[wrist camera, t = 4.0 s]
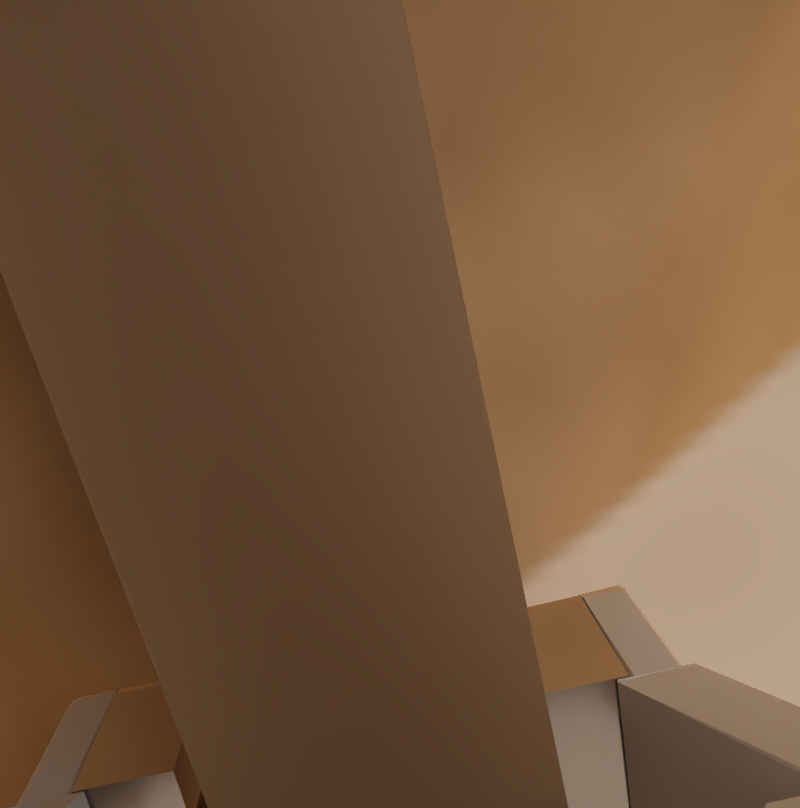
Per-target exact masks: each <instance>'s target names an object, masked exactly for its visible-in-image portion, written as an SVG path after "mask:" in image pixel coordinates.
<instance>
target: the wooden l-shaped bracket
mask: <svg viewBox="0 0 800 808" xmlns="http://www.w3.org/2000/svg"><path fill="white" fill-rule="evenodd" d="M0 273H1V275H2V278H3V281H4V283H5V286H6V288H7V291H8V293H9V296H10V299H11V301H12V304H13V306H14V309H15V311H16V314H17V317H18V319H19V322H20V324H21V327H22V330H23V332H24V335H25V337H26V340H27V342H28V345H29V348H30V350H31V353H32V355H33V358H34V360H35V363H36V366H37V368H38V371H39V373H40V376H41V378H42V381H43V384H44V386H45V389H46V391H47V394H48V397H49V399H50V402H51V404H52V407H53V409H54V412H55V415H56V417H57V420H58V422H59V425H60V427H61V430H62V433H63V435H64V438H65V440H66V443H67V446H68V448H69V451H70V453H71V456H72V458H73V461H74V464H75V466H76V469H77V471H78V474H79V476H80V479H81V482H82V484H83V487H84V489H85V492H86V495H87V497H88V500H89V502H90V505H91V507H92V510H93V513H94V515H95V518H96V520H97V523H98V525H99V528H100V531H101V533H102V536H103V538H104V541H105V543H106V546H107V549H108V551H109V554H110V556H111V559H112V562H113V564H114V567H115V569H116V572H117V574H118V577H119V580H120V582H121V585H122V587H123V590H124V592H125V595H126V598H127V600H128V603H129V605H130V608H131V611H132V613H133V616H134V618H135V621H136V623H137V626H138V629H139V631H140V634H141V636H142V639H143V641H144V644H145V647H146V649H147V652H148V654H149V657H150V660H151V662H152V665H153V667H154V670H155V672H156V675H157V678H158V680H159V683H160V685H161V688H162V690H163V693H164V696H165V698H166V701H167V703H168V706H169V708H170V711H171V714H172V716H173V719H174V721H175V724H176V727H177V729H178V732H179V734H180V737H181V739H182V742H183V745H184V747H185V750H186V752H187V755H188V757H189V760H190V763H191V765H192V768H193V770H194V773H195V776H196V778H197V781H198V783H199V786H200V788H201V791H202V794H203V796H204V799H205V801H206V804H207V806H208V808H568V803H567V798H566V793H565V788H564V783H563V779H562V774H561V769H560V764H559V759H558V754H557V750H556V745H555V740H554V735H553V730H552V726H551V721H550V716H549V711H548V706H547V701H546V697H545V692H544V687H543V682H542V677H541V672H540V668H539V663H538V658H537V653H536V648H535V644H534V639H533V634H532V629H531V624H530V619H529V615H528V610H527V605H526V600H525V595H524V590H523V586H522V581H521V576H520V571H519V566H518V561H517V557H516V552H515V547H514V542H513V537H512V533H511V528H510V523H509V518H508V513H507V508H506V504H505V499H504V494H503V489H502V484H501V479H500V475H499V470H498V465H497V460H496V455H495V451H494V446H493V441H492V436H491V431H490V426H489V422H488V417H487V412H486V407H485V402H484V397H483V393H482V388H481V383H480V378H479V373H478V368H477V364H476V359H475V354H474V349H473V344H472V340H471V335H470V330H469V325H468V320H467V315H466V311H465V306H464V301H463V296H462V291H461V286H460V282H459V277H458V272H457V267H456V262H455V257H454V253H453V248H452V243H451V238H450V233H449V229H448V224H447V219H446V214H445V209H444V204H443V200H442V195H441V190H440V185H439V180H438V175H437V171H436V166H435V161H434V156H433V151H432V147H431V142H430V137H429V132H428V127H427V122H426V118H425V113H424V108H423V103H422V98H421V93H420V89H419V84H418V79H417V74H416V69H415V64H414V60H413V55H412V50H411V45H410V40H409V36H408V31H407V26H406V21H405V16H404V11H403V7H402V2H401V0H0Z"/></svg>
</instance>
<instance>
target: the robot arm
mask: <svg viewBox="0 0 800 808" xmlns="http://www.w3.org/2000/svg"><path fill="white" fill-rule="evenodd" d="M527 610H528V615H529V619H530V624H531V629H532V634H533V639H534V644H535V648H536V653H537V658H538V663H539V668H540V672H541V677H542V682H543V687H544V692H545V697H546V701H547V706H548V711H549V716H550V721H551V726H552V730H553V735H554V740H555V745H556V750H557V754H558V759H559V764H560V769H561V774H562V779H563V783H564V788H565V793H566V798H567V803H568V808H800V707H798V706H795V705H793V704H791V703H788V702H786V701H784V700H781V699H779V698H776V697H774V696H772V695H769V694H766V693H764V692H762V691H759V690H757V689H755V688H752V687H750V686H747V685H745V684H743V683H740V682H738V681H735V680H733V679H731V678H728V677H726V676H723V675H721V674H718V673H716V672H714V671H711V670H709V669H706V668H704V667H702V666H699V665H697V664H691V665H686V666H682V665H681V664H680V663H679V661H678V660H677V659H676V657H675V656H674V654H673V653H672V652H671V651H670V649H669V648H668V646H667V645H666V644H665V642H664V641H663V640H662V638H661V637H660V636H659V634H658V633H657V632H656V630H655V629H654V627H653V626H652V625H651V623H650V622H649V621H648V619H647V618H646V617H645V615H644V614H643V613H642V611H641V610H640V609H639V607H638V606H637V604H636V603H635V602H634V600H633V599H632V598H631V597H630V595H629V594H628V592H627V591H626V590H625V588H622V587H620V586H614V587H610V588H606V589H603V590H599V591H594V592H590V593H586V594H582V595H578V596H575V597H571V598H567V599H563V600H558V601H554V602H550V603H545V604H540V605H536V606H532V607H528V608H527ZM6 808H208V806H207V804H206V801H205V799H204V796H203V794H202V791H201V788H200V786H199V783H198V781H197V778H196V776H195V773H194V770H193V768H192V765H191V763H190V760H189V757H188V755H187V752H186V750H185V747H184V745H183V742H182V739H181V737H180V734H179V732H178V729H177V727H176V724H175V721H174V719H173V716H172V714H171V711H170V708H169V706H168V703H167V701H166V698H165V696H164V693H163V690H162V688H161V685H160V683H159V682H153V683H148V684H142V685H137V686H131V687H126V688H122V689H121V690H120V689H114V690H109V691H105V692H100V693H95V694H91V695H86V696H81V697H79V698H77V699H75V700H74V701H72V702H71V703H70V704H69V706H68V708H67V710H66V712H65V714H64V716H63V718H62V719H61V721H60V723H59V725H58V727H57V729H56V731H55V733H54V735H53V737H52V738H51V740H50V742H49V744H48V746H47V748H46V750H45V752H44V754H43V756H42V757H41V759H40V761H39V763H38V765H37V767H36V769H35V771H34V773H33V775H32V777H31V778H30V780H29V782H28V784H27V786H26V788H25V790H24V792H23V794H22V796H21V797H20V799H19V801H18V803H17V805H16V806H11V807H6Z"/></svg>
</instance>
